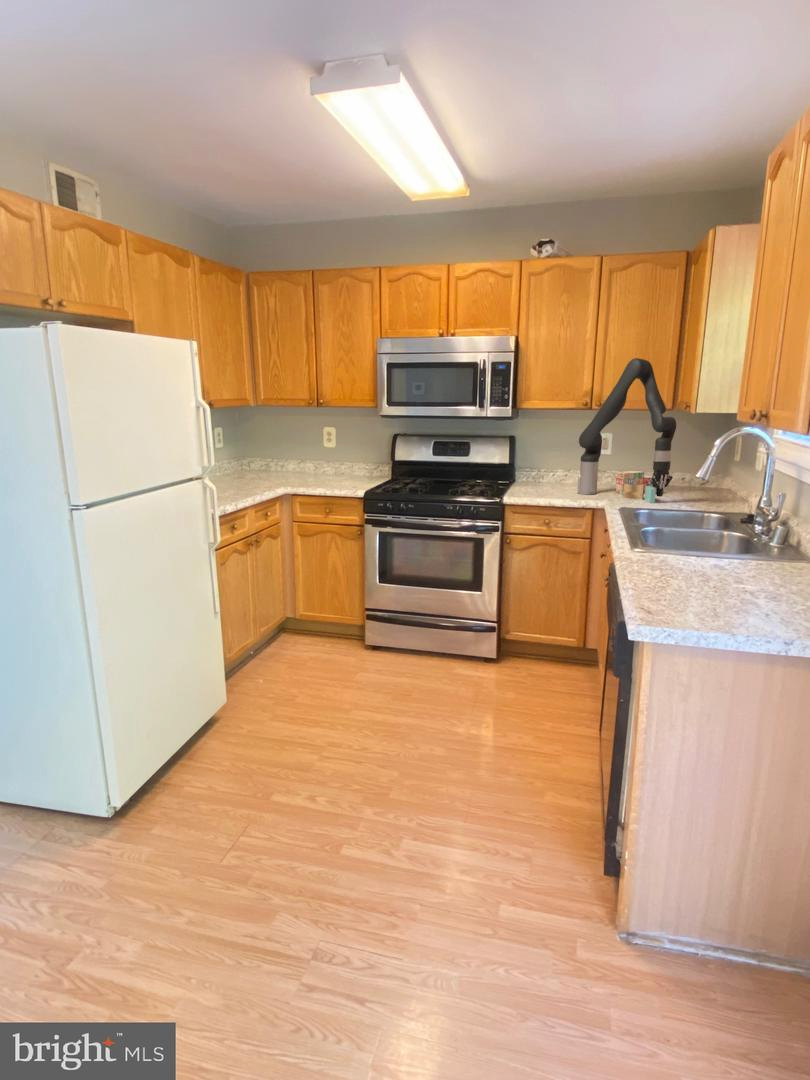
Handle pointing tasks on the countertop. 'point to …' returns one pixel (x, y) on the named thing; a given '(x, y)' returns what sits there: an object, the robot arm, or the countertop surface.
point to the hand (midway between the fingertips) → (659, 496)
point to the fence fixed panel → (633, 491)
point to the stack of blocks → (631, 480)
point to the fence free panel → (650, 494)
